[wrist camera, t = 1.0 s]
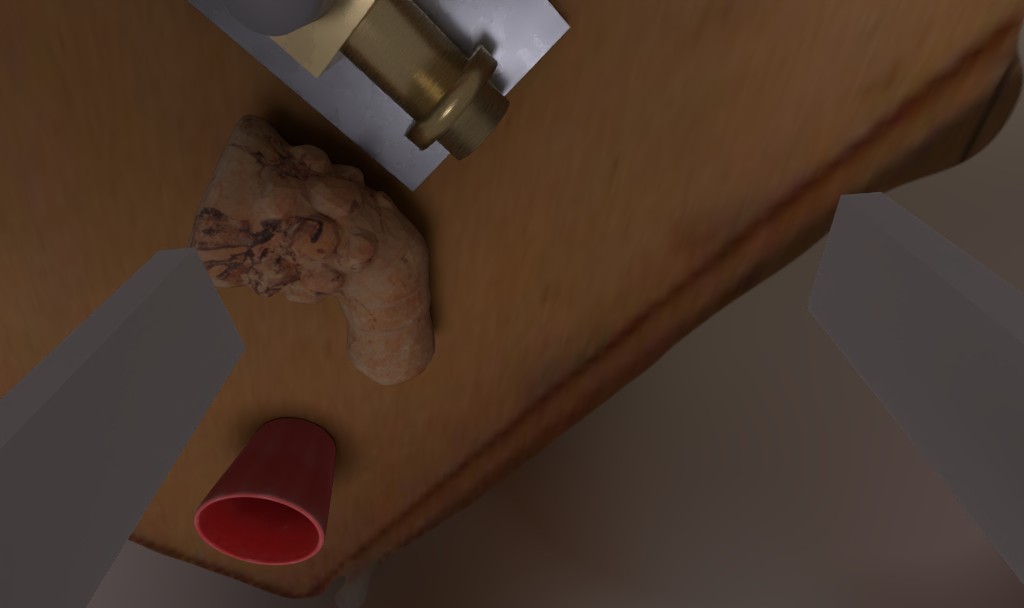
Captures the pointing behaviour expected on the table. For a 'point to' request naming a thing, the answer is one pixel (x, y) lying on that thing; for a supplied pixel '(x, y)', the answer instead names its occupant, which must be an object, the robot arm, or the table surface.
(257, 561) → the flower pot
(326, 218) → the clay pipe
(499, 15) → the valve
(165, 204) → the table surface
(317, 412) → the table surface
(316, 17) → the lever
